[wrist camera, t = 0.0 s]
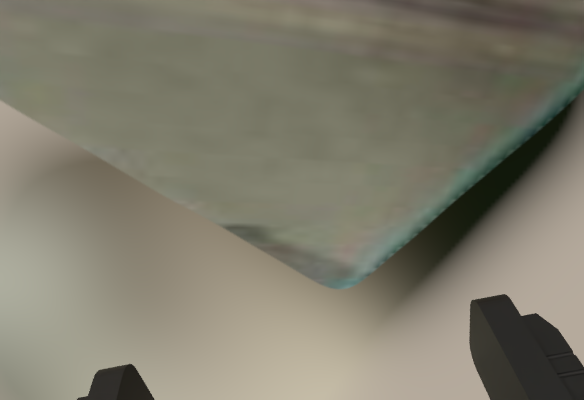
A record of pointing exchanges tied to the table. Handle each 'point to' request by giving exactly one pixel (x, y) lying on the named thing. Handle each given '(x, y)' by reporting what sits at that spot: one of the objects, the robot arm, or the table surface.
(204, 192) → the table surface
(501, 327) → the robot arm
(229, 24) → the table surface
